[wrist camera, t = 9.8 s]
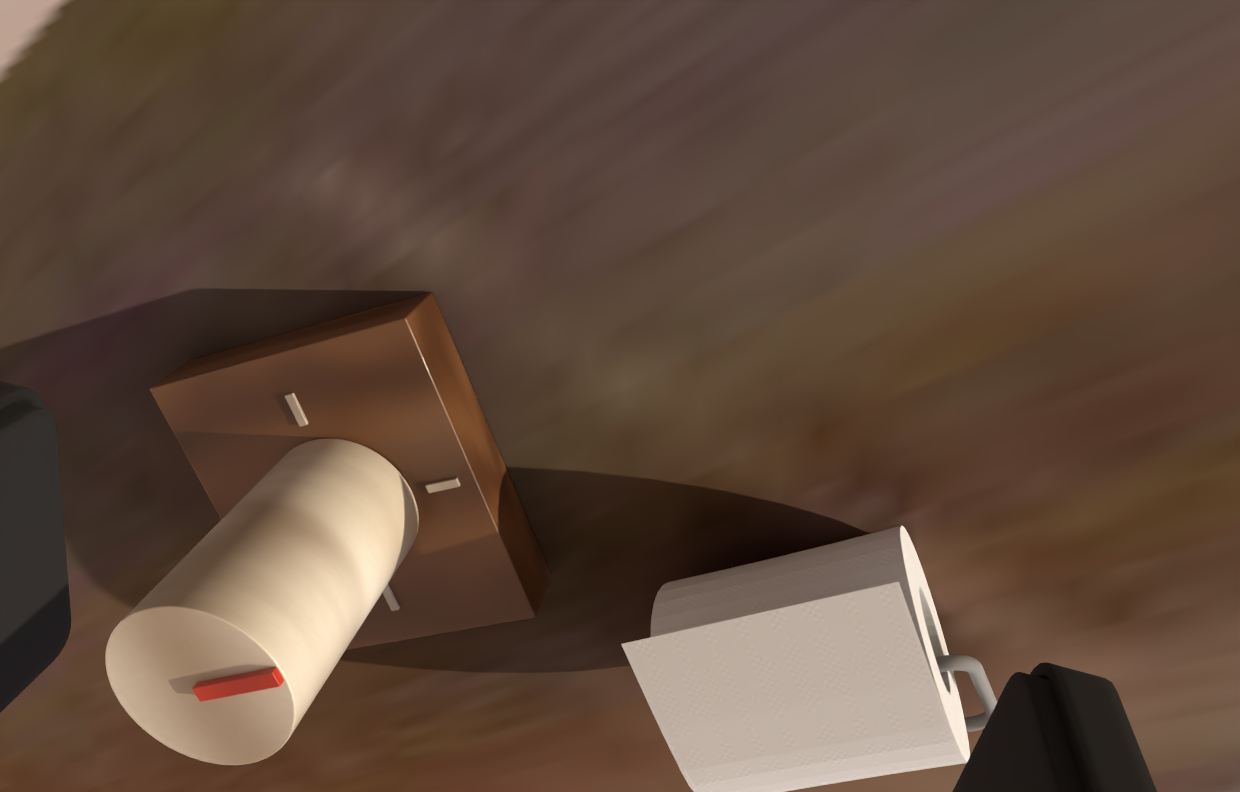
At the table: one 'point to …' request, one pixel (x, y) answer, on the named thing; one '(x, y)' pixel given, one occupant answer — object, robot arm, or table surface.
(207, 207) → the table surface
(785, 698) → the toilet paper holder
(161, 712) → the rotary dial knob
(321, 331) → the brown square plate
